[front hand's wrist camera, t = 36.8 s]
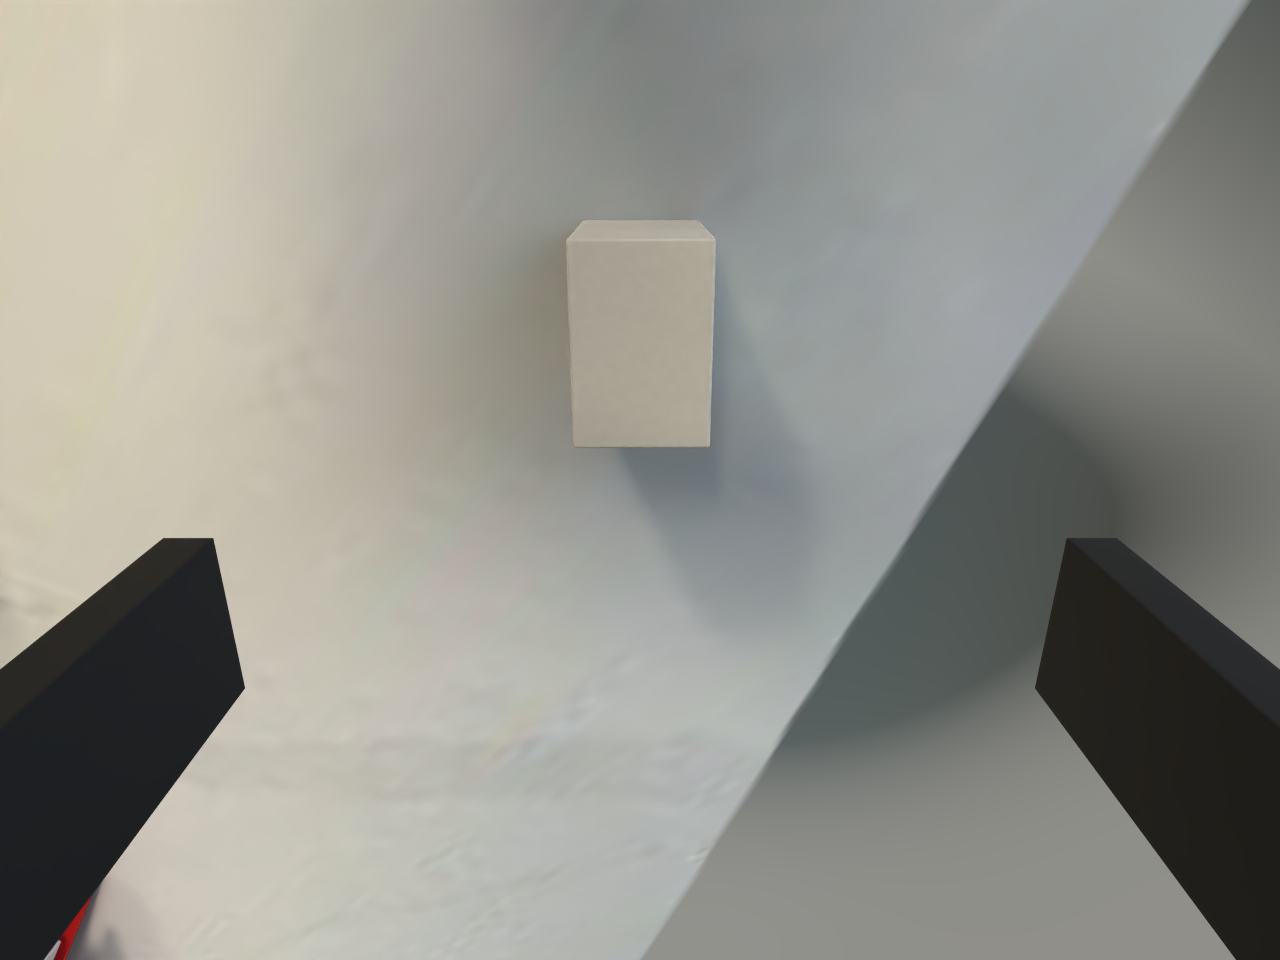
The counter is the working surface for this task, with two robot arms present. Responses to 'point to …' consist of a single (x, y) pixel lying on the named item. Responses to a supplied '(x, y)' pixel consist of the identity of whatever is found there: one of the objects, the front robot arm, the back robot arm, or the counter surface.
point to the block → (641, 333)
